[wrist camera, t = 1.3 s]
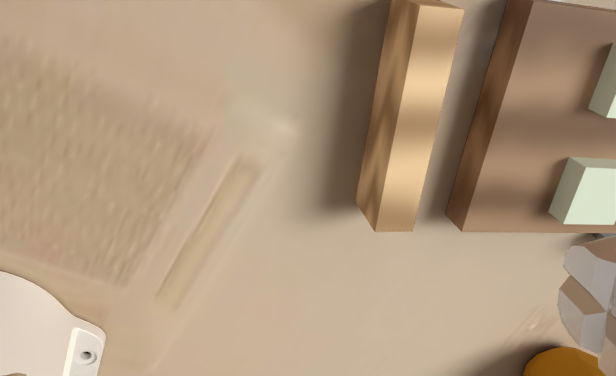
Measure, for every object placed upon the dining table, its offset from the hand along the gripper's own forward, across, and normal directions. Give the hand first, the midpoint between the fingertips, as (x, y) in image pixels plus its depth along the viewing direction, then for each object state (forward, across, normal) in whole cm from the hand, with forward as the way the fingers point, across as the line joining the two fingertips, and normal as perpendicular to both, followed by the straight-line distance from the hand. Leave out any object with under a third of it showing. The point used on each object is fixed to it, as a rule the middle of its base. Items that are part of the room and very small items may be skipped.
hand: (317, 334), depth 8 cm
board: (+31, -26, +14) cm, 43 cm away
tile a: (+28, -27, +18) cm, 43 cm away
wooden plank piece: (+31, -12, +10) cm, 34 cm away
